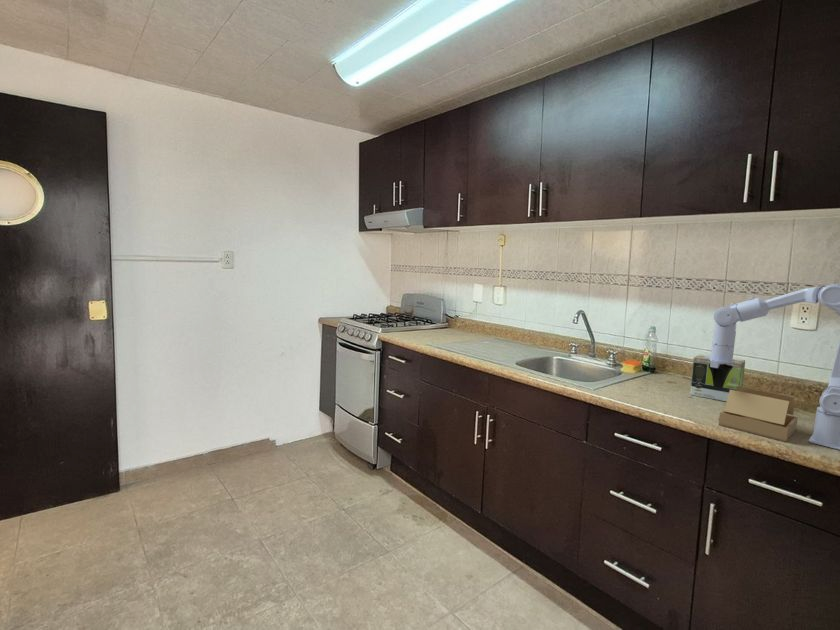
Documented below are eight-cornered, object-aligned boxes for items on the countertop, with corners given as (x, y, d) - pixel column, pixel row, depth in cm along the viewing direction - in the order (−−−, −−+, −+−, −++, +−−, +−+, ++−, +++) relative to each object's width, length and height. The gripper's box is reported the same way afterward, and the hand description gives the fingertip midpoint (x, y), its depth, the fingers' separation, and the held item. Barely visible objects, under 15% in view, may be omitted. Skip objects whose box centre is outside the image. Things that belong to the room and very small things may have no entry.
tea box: (741, 398, 163) (746, 359, 161) (738, 404, 155) (743, 363, 153) (694, 390, 172) (698, 353, 171) (689, 395, 165) (693, 356, 163)
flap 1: (789, 401, 123) (789, 401, 123) (783, 425, 122) (783, 424, 122) (730, 389, 134) (729, 389, 134) (724, 411, 132) (724, 411, 132)
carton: (795, 430, 131) (797, 417, 131) (786, 442, 121) (787, 428, 121) (732, 415, 143) (733, 403, 143) (718, 425, 133) (720, 412, 133)
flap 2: (793, 415, 131) (793, 414, 131) (793, 397, 128) (794, 396, 128) (737, 402, 142) (737, 402, 142) (736, 386, 138) (736, 385, 139)
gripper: (715, 340, 145) (710, 380, 147) (701, 345, 136) (696, 387, 137) (740, 344, 140) (735, 385, 142) (728, 348, 131) (722, 393, 132)
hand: (718, 387), depth 139 cm, fingers closed
